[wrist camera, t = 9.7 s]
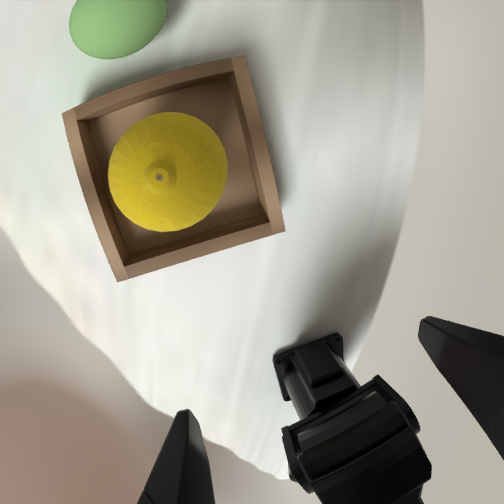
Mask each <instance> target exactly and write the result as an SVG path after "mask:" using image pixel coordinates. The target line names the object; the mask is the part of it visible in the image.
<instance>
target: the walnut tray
mask: <svg viewBox="0 0 504 504" xmlns="http://www.w3.org/2000/svg"><path fill="white" fill-rule="evenodd" d="M163 112H179V113H184V114H187V115H190V116H193V117H196V118H198V119H199V120H201V121H202V122H204V123H205V124H207V125H208V126H209V127H210V128H211V129H212V130H213V131H214V132H215V133H216V134H217V136H218V137H219V139H220V141H221V143H222V145H223V147H224V149H225V153H226V158H227V163H228V172H227V182H226V185H225V188H224V191H223V194H222V196H221V198H220V199H219V201H218V203H217V204H216V206H215V207H214V208H213V209H212V211H211V212H210V213H209V214H208V215H207V216H206V217H205V218H204V219H202V220H200V221H199V222H197V223H195V224H194V225H192V226H190V227H187V228H184V229H181V230H178V231H168V232H160V231H154V230H148V229H146V228H144V227H141V226H139V225H137V224H135V223H133V222H132V221H131V220H130V219H129V218H127V217H126V216H125V215H124V214H123V213H122V212H121V210H120V209H119V208H118V206H117V205H116V204H115V202H114V199H113V197H112V194H111V192H110V188H109V180H108V169H109V160H110V157H111V155H112V152H113V150H114V147H115V145H116V144H117V142H118V141H119V139H120V138H121V137H122V135H123V134H124V132H125V131H127V130H128V129H129V128H130V127H131V126H132V125H134V124H135V123H136V122H138V121H140V120H142V119H144V118H146V117H148V116H150V115H153V114H158V113H163ZM62 116H63V121H64V126H65V130H66V134H67V138H68V142H69V146H70V150H71V154H72V158H73V161H74V165H75V169H76V172H77V175H78V179H79V182H80V185H81V188H82V192H83V195H84V198H85V201H86V204H87V207H88V210H89V212H90V215H91V218H92V221H93V224H94V226H95V229H96V232H97V234H98V237H99V239H100V242H101V245H102V247H103V250H104V252H105V254H106V257H107V259H108V262H109V264H110V266H111V269H112V271H113V273H114V276H115V278H116V280H117V282H120V281H124V280H127V279H130V278H133V277H136V276H139V275H143V274H146V273H149V272H152V271H156V270H159V269H162V268H165V267H168V266H172V265H175V264H178V263H181V262H185V261H188V260H191V259H194V258H198V257H201V256H204V255H207V254H211V253H214V252H217V251H221V250H224V249H227V248H231V247H234V246H237V245H240V244H244V243H247V242H250V241H254V240H257V239H260V238H264V237H267V236H270V235H274V234H277V233H281V232H284V231H285V226H284V221H283V216H282V211H281V206H280V201H279V197H278V192H277V187H276V183H275V178H274V174H273V169H272V164H271V160H270V156H269V151H268V147H267V142H266V138H265V134H264V130H263V125H262V121H261V117H260V113H259V109H258V105H257V101H256V97H255V93H254V89H253V85H252V81H251V77H250V73H249V69H248V65H247V62H246V58H245V56H240V57H234V58H228V59H223V60H218V61H213V62H208V63H203V64H199V65H195V66H191V67H187V68H183V69H179V70H175V71H171V72H168V73H164V74H161V75H158V76H154V77H151V78H148V79H145V80H142V81H139V82H136V83H133V84H130V85H127V86H125V87H122V88H119V89H116V90H114V91H111V92H109V93H106V94H104V95H101V96H99V97H97V98H94V99H92V100H89V101H87V102H85V103H83V104H81V105H78V106H76V107H74V108H72V109H70V110H68V111H66V112H64V113H62Z"/></svg>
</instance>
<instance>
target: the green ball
mask: <svg viewBox="0 0 504 504" xmlns="http://www.w3.org/2000/svg"><path fill="white" fill-rule="evenodd" d="M166 10H167V3H166V0H77V1H76V3H75V5H74V7H73V9H72V12H71V15H70V20H69V30H70V34H71V37H72V40H73V42H74V43H75V45H76V46H77V47H78V48H79V49H80V50H81V51H82V52H84V53H85V54H87V55H89V56H92V57H95V58H99V59H116V58H122V57H125V56H128V55H131V54H133V53H135V52H137V51H139V50H140V49H142V48H143V47H145V46H146V45H147V44H148V43H149V42H150V41H152V39H153V38H154V37H155V36H156V35H157V34H158V32H159V31H160V29H161V27H162V25H163V23H164V20H165V17H166Z"/></svg>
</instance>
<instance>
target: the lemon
mask: <svg viewBox="0 0 504 504" xmlns="http://www.w3.org/2000/svg"><path fill="white" fill-rule="evenodd" d="M227 172H228V163H227V158H226V153H225V149H224V147H223V145H222V143H221V141H220V139H219V137H218V136H217V134H216V133H215V132H214V131H213V130H212V129H211V128H210V127H209V126H208V125H207V124H205V123H204V122H202V121H201V120H199V119H198V118H196V117H193V116H190V115H187V114H184V113H179V112H163V113H158V114H153V115H150V116H148V117H146V118H144V119H142V120H140V121H138V122H136V123H135V124H134V125H132V126H131V127H130V128H129V129H128V130H127V131H125V132H124V134H123V135H122V137H121V138H120V139H119V141H118V142H117V144H116V145H115V147H114V150H113V152H112V155H111V157H110V160H109V169H108V180H109V188H110V192H111V194H112V197H113V199H114V202H115V204H116V205H117V206H118V208H119V209H120V210H121V212H122V213H123V214H124V215H125V216H126V217H127V218H129V219H130V220H131V221H132V222H133V223H135V224H137V225H139V226H141V227H144V228H146V229H148V230H154V231H160V232H168V231H178V230H181V229H184V228H187V227H190V226H192V225H194V224H195V223H197V222H199V221H200V220H202V219H204V218H205V217H206V216H207V215H208V214H209V213H210V212H211V211H212V209H213V208H214V207H215V206H216V204H217V203H218V201H219V199H220V198H221V196H222V194H223V191H224V188H225V185H226V182H227Z"/></svg>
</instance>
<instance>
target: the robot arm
mask: <svg viewBox="0 0 504 504" xmlns="http://www.w3.org/2000/svg"><path fill="white" fill-rule="evenodd" d="M336 338H337V339H336ZM418 338H419V341H420V342H421V344H422V346H423V347H424V348H425V350H426V352H427V353H428V355H429V356H430V358H431V360H432V361H433V363H434V364H435V366H436V367H437V369H438V370H439V371H440V373H441V374H442V375H443V376H444V378H445V379H446V380H447V382H448V383H449V384H450V385H451V387H452V388H453V389H454V391H455V392H456V393H457V394H458V396H459V397H460V398H461V400H462V401H463V402H464V404H465V405H466V407H467V408H468V409H469V410H470V412H471V413H472V415H473V416H474V417H475V419H476V420H477V422H478V423H479V424H480V426H481V427H482V429H483V430H484V431H485V433H486V434H487V436H488V437H489V439H490V440H491V442H492V443H493V445H494V446H495V448H496V449H497V451H498V452H499V454H500V455H501V457H502V459H503V460H504V336H502V335H498V334H494V333H491V332H487V331H483V330H479V329H476V328H472V327H468V326H465V325H461V324H458V323H454V322H450V321H446V320H443V319H439V318H435V317H432V316H427V317H425V318H424V319H422V320H421V321H420V325H419V332H418ZM278 360H279V361H278ZM273 364H274V368H275V372H276V375H277V379H278V382H279V386H280V390H281V393H282V397H283V399H284V401H290V400H292V403H293V405H294V407H295V409H296V412H297V414H298V416H299V418H300V421H298V422H296V423H294V424H292V425H290V426H288V425H287V426H285V427H283V428H281V429H282V433H283V436H282V441H283V444H284V448H285V452H286V456H287V460H288V468H289V477H290V479H291V480H292V481H294V482H297V483H299V484H300V485H301V486H302V487H303V489H304V490H305V491H306V492H307V493H309V494H310V493H313V492H315V493H316V495H317V496H318V498H319V499H320V501H321V503H322V504H424V503H423V501H422V499H421V492H422V488H423V484H424V483H425V482H427V481H428V480H430V479H431V471H432V465H431V463H430V461H429V459H428V458H427V455H426V453H425V451H424V449H423V447H422V445H421V443H420V441H419V439H418V437H417V435H416V434H417V433H419V432H420V426H419V423H418V420H417V418H416V416H415V415H414V413H413V411H412V409H411V408H410V407H409V405H408V404H407V402H406V401H405V400H404V399H403V398H402V397H401V396H400V395H399V394H398V393H397V392H396V391H395V390H394V389H393V388H392V387H391V386H390V385H389V384H388V383H387V382H385V381H384V380H383V379H382V378H381V377H380V376H379V375H376V376H375V377H373V378H372V380H370V381H369V382H367V383H366V384H364V385H362V386H360V384H359V383H358V381H357V380H356V379H355V377H354V376H353V374H352V373H351V372H350V370H349V369H348V367H347V366H346V365H345V363H344V359H343V338H342V336H341V334H340V333H334V334H332V335H329V336H327V337H324V338H322V339H319V340H317V341H314V342H312V343H309V344H306V345H304V346H301V347H298V348H295V349H293V350H290V351H287V352H284V353H281V354H278V355H276V356H274V357H273ZM144 490H145V491H143V492H142V494H141V496H140V498H139V501H138V503H137V504H215V499H214V492H213V486H212V479H211V472H210V466H209V460H208V456H207V452H206V449H205V445H204V441H203V437H202V433H201V429H200V425H199V423H198V421H197V419H196V418H195V416H194V415H193V413H192V412H191V411H190V410H189V409H185V410H180V411H178V412H177V414H176V416H175V418H174V421H173V423H172V425H171V428H170V430H169V432H168V434H167V437H166V439H165V441H164V444H163V446H162V448H161V450H160V453H159V455H158V457H157V460H156V462H155V464H154V467H153V469H152V471H151V474H150V476H149V478H148V481H147V483H146V485H145V487H144Z"/></svg>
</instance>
